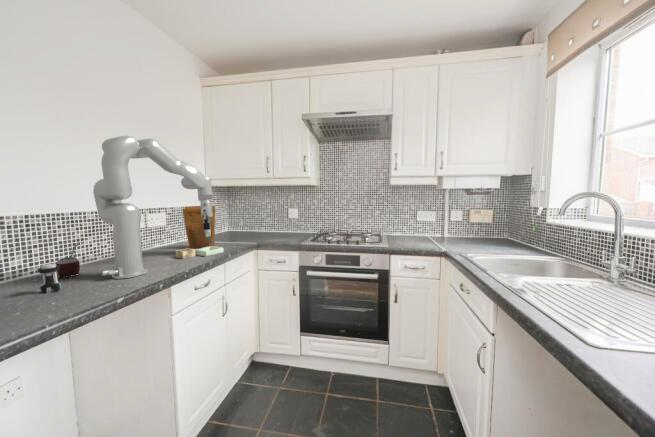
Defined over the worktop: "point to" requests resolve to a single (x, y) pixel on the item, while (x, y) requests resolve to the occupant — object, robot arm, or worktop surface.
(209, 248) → the tray
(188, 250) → the socket block
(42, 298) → the worktop surface
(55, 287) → the black toy figure
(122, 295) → the worktop surface
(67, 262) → the manual coffee grinder
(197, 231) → the pancake mix bag
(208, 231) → the steel pin
